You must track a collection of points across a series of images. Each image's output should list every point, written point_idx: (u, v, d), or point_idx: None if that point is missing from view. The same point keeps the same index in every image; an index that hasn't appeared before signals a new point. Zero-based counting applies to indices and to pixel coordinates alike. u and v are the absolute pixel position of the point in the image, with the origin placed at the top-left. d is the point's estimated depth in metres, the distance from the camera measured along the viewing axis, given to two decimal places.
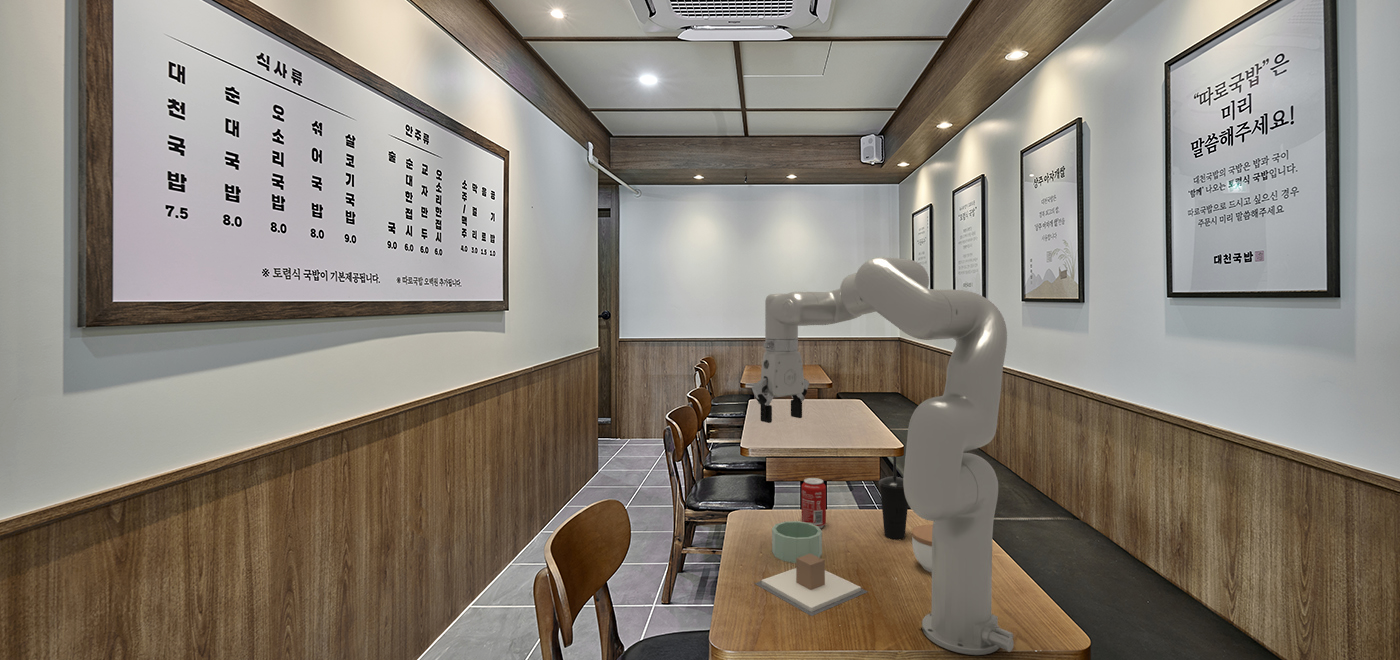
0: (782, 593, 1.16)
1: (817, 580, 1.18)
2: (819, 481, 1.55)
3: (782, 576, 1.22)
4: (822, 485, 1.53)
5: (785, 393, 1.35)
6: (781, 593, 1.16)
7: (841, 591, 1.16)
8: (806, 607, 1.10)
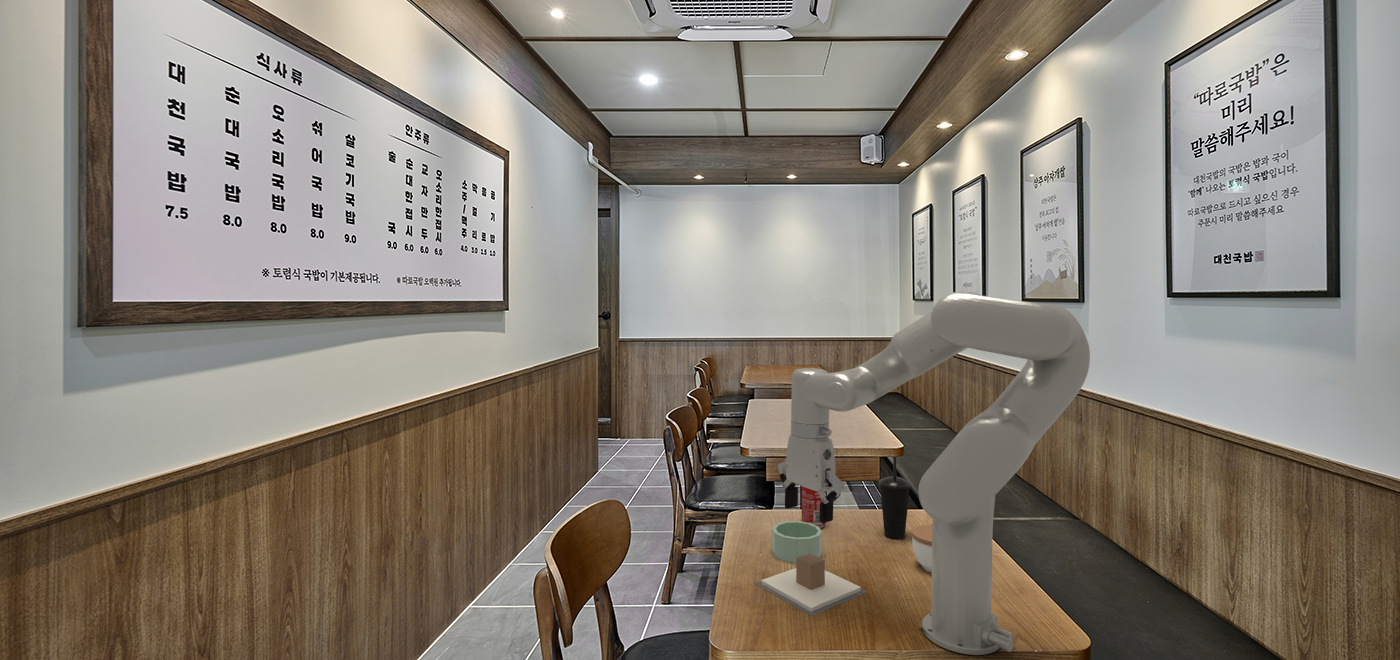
0: (782, 593, 1.16)
1: (817, 580, 1.18)
2: None
3: (782, 576, 1.22)
4: None
5: None
6: (781, 593, 1.16)
7: (841, 591, 1.16)
8: (806, 607, 1.10)
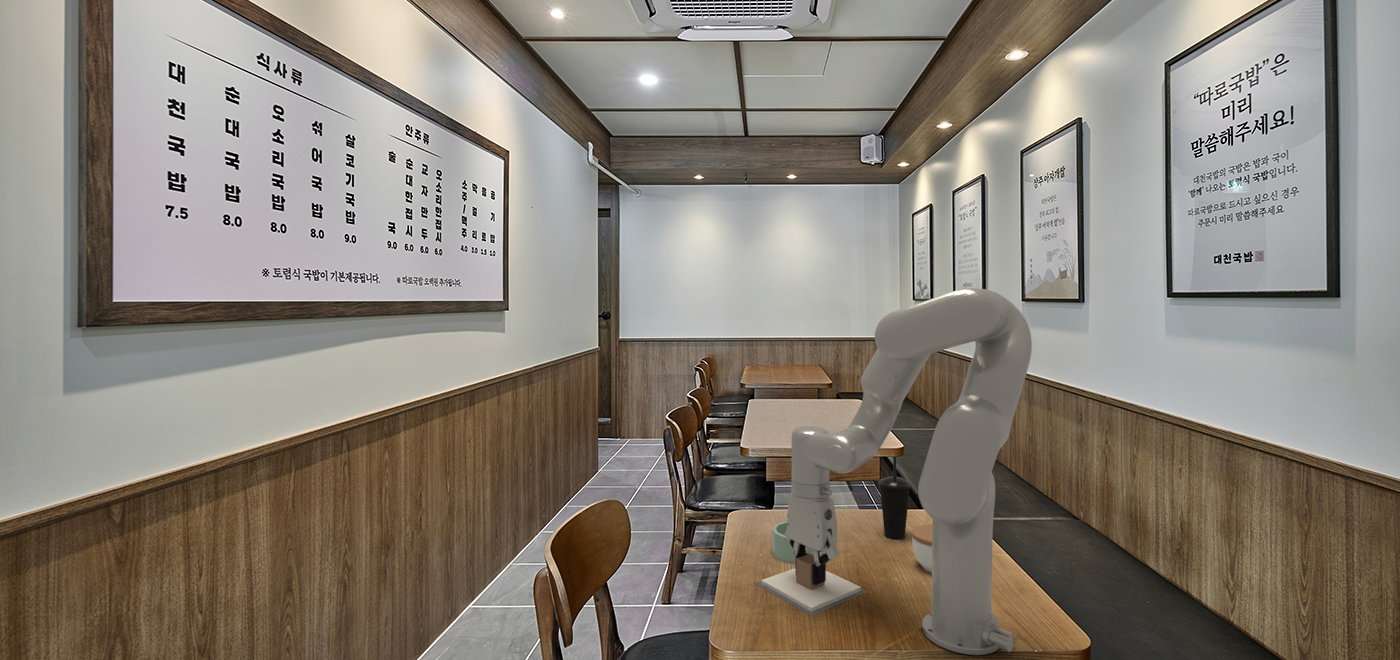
0: (782, 593, 1.16)
1: None
2: None
3: (782, 576, 1.22)
4: None
5: None
6: (781, 593, 1.16)
7: (841, 591, 1.16)
8: (806, 607, 1.10)
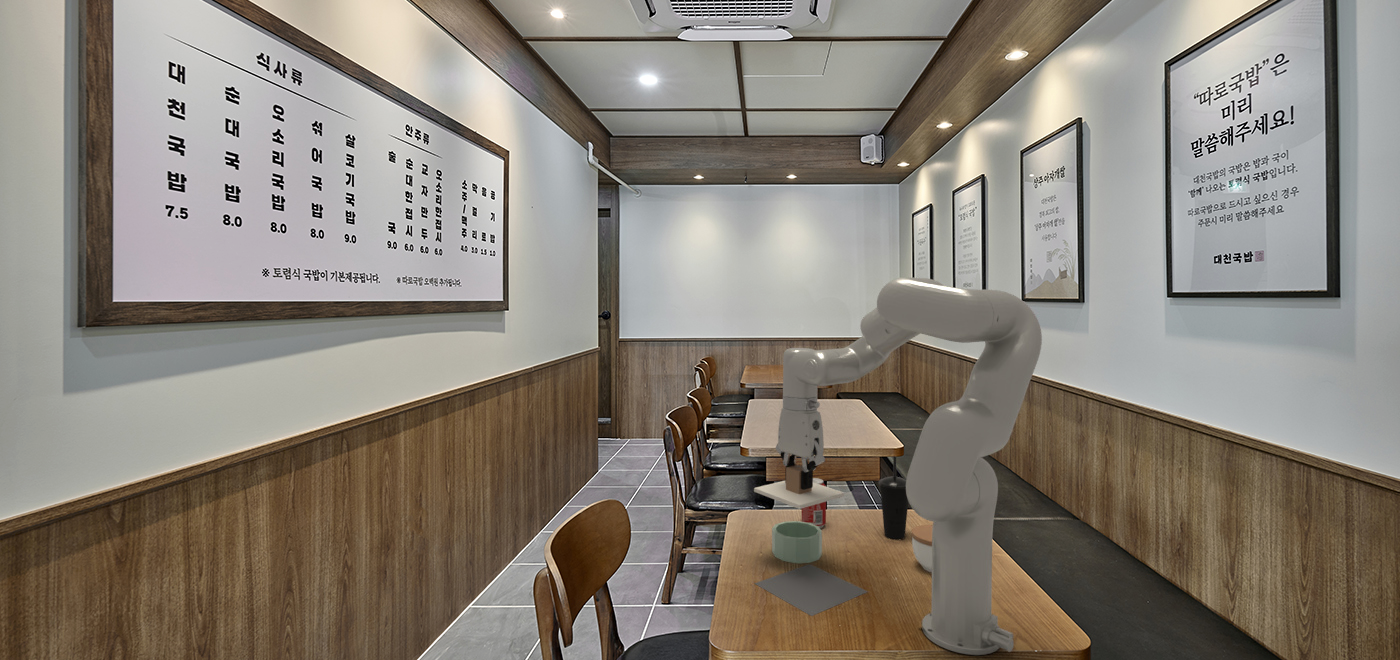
0: (773, 496, 1.28)
1: None
2: (819, 481, 1.55)
3: (773, 485, 1.34)
4: None
5: None
6: (772, 497, 1.28)
7: (826, 495, 1.28)
8: (795, 505, 1.22)
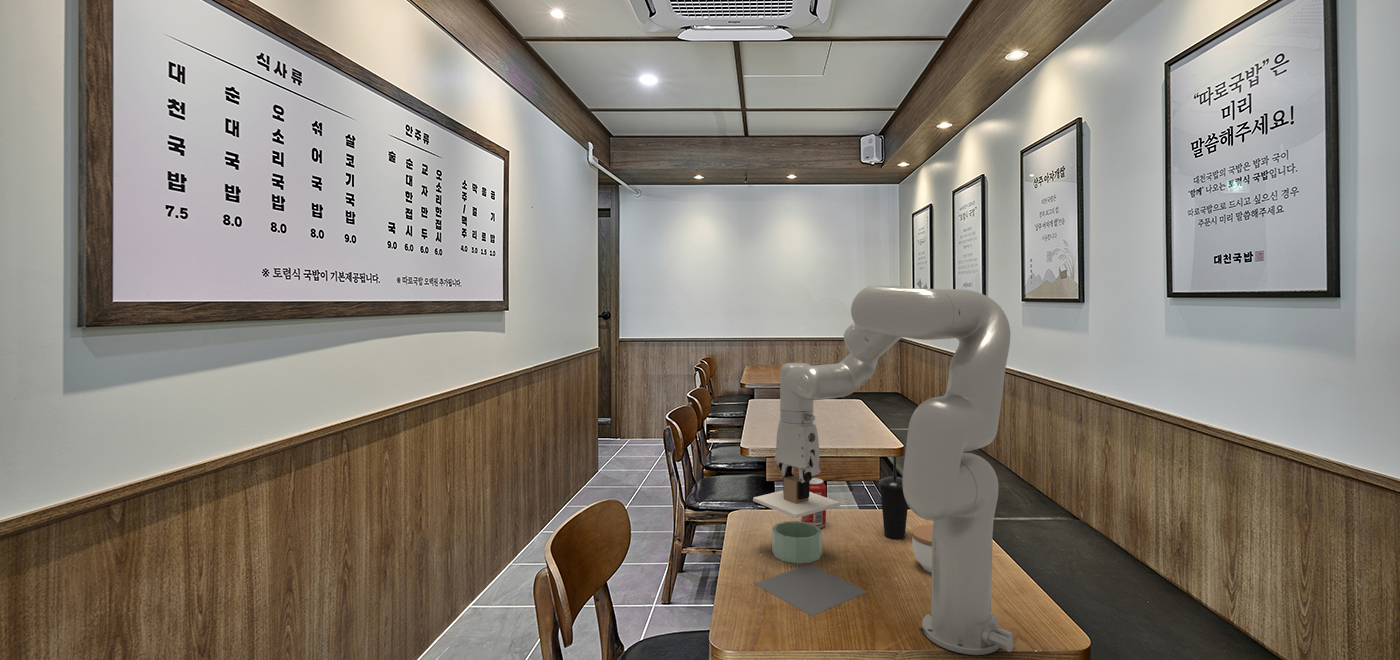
0: (771, 506, 1.33)
1: None
2: (819, 481, 1.55)
3: (771, 495, 1.39)
4: (822, 485, 1.53)
5: None
6: (770, 506, 1.33)
7: (822, 504, 1.33)
8: (791, 515, 1.27)
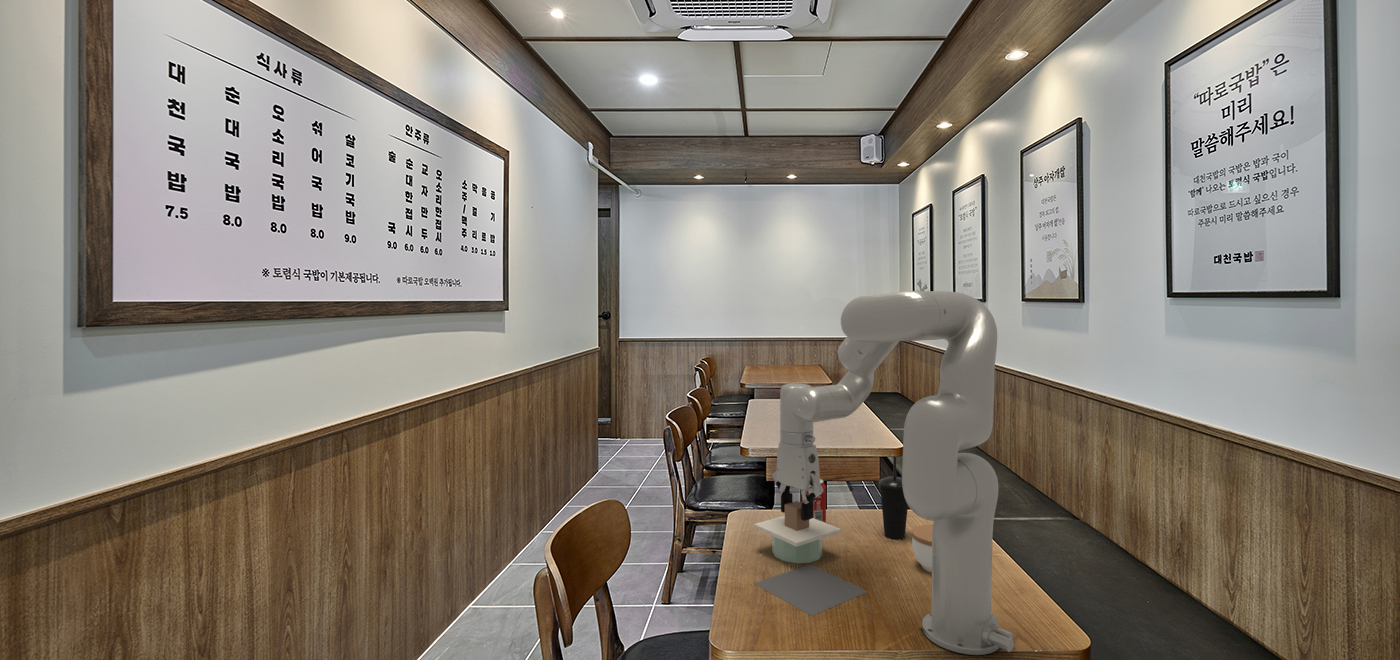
0: (772, 533, 1.33)
1: (803, 523, 1.34)
2: None
3: (772, 521, 1.39)
4: (822, 485, 1.53)
5: None
6: (771, 533, 1.33)
7: (823, 531, 1.33)
8: (792, 543, 1.27)
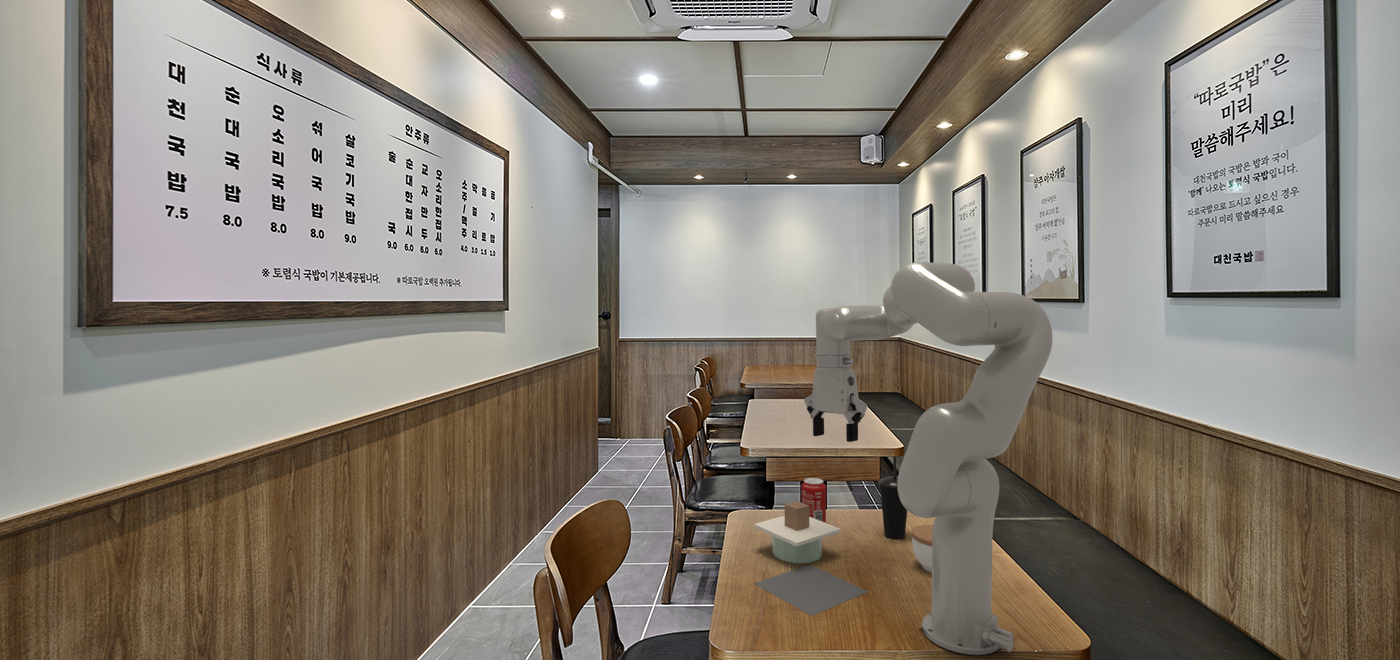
0: (772, 533, 1.33)
1: (803, 523, 1.34)
2: (819, 481, 1.55)
3: (772, 521, 1.39)
4: (822, 485, 1.53)
5: None
6: (771, 533, 1.33)
7: (823, 531, 1.33)
8: (792, 543, 1.27)
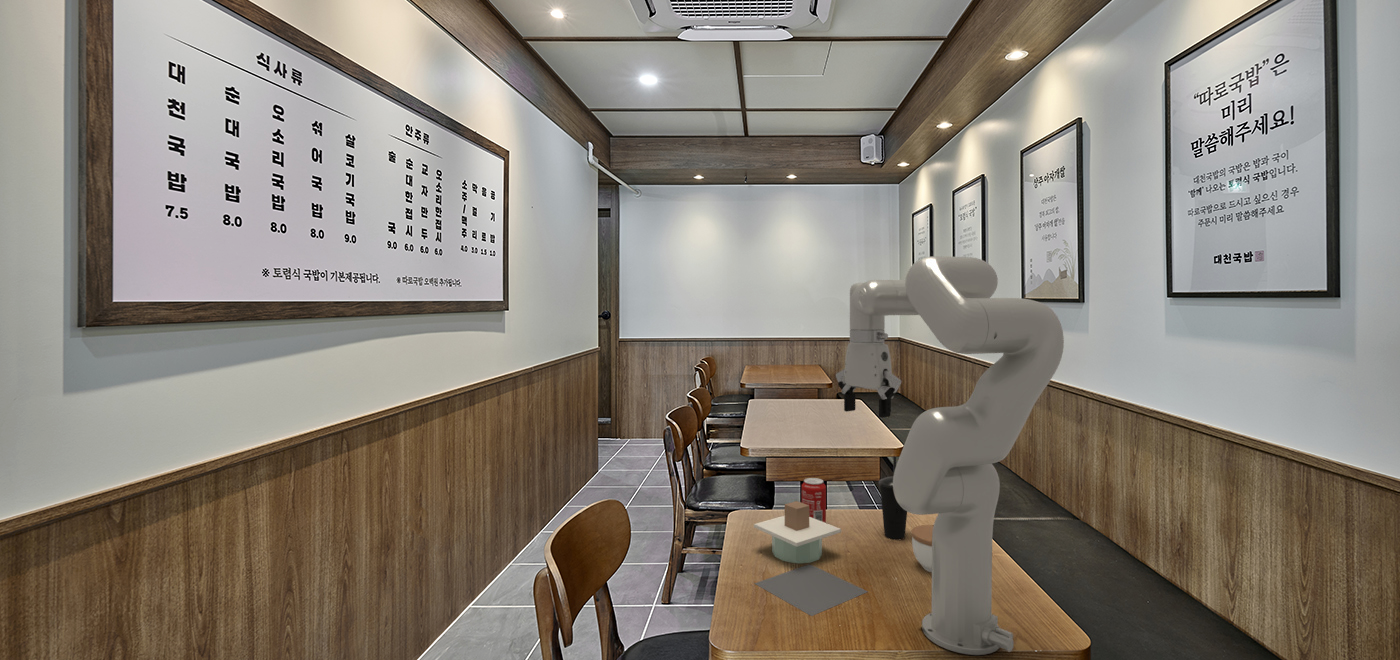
0: (772, 533, 1.33)
1: (803, 523, 1.34)
2: (819, 481, 1.55)
3: (772, 521, 1.39)
4: (822, 485, 1.53)
5: None
6: (771, 533, 1.33)
7: (823, 531, 1.33)
8: (792, 543, 1.27)
